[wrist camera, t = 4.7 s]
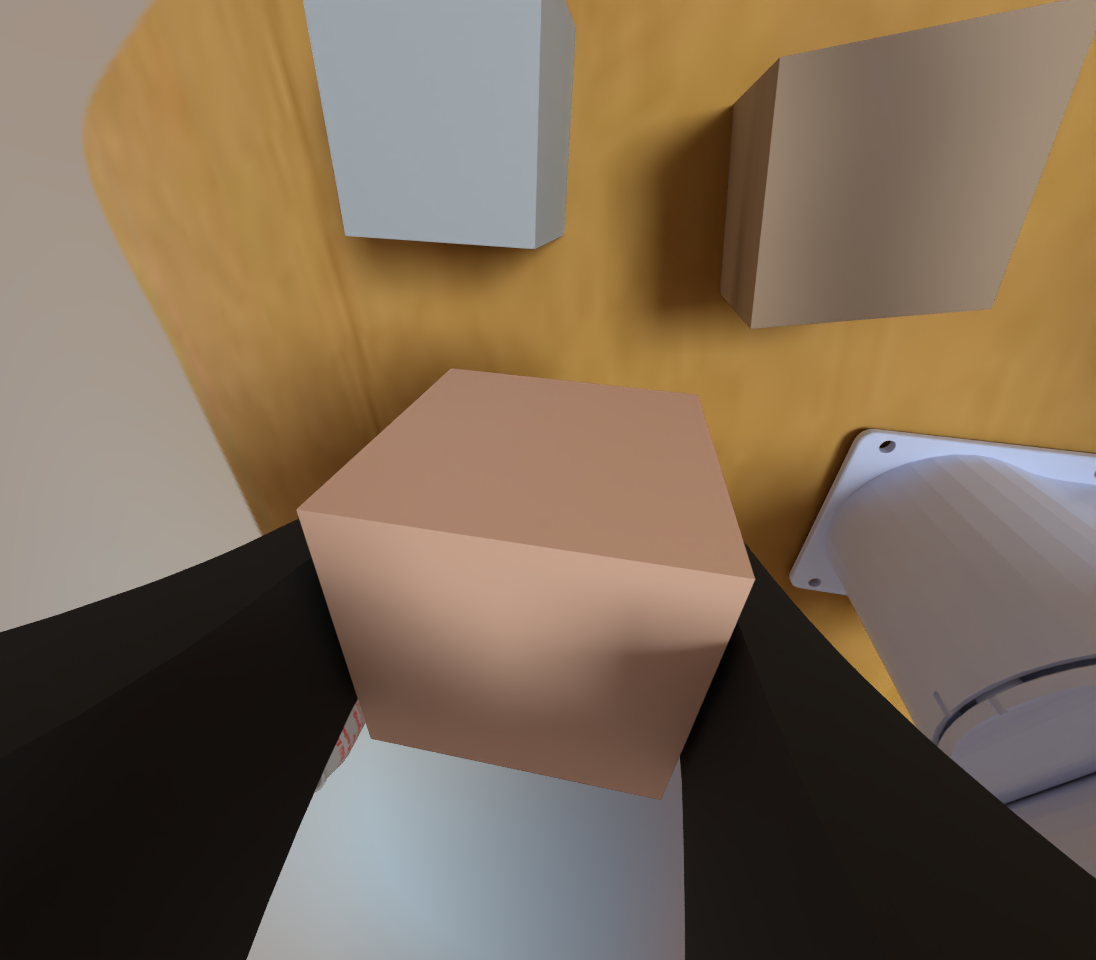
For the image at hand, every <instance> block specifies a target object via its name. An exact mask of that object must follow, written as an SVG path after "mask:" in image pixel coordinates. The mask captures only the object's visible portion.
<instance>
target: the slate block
mask: <svg viewBox="0 0 1096 960" xmlns="http://www.w3.org/2000/svg"><path fill="white" fill-rule="evenodd" d="M303 3H304V9H305V14H306V20H307V25H308V31H309V36H310V42H311V48H312V53H313V59H314V64H315V70H316V75H317V81H318V86H319V92H320V97H321V103H322V108H323V114H324V120H325V125H326V131H327V136H328V142H329V147H330V153H331V158H332V164H333V169H334V175H335V180H336V186H337V191H338V197H339V203H340V208H341V214H342V219H343V225H344V230H345V236H355V237H369V238H384V239H398V240H412V241H427V242H441V243H455V244H469V245H484V246H498V247H512V248H527V249H536V248H538V247H540V246H542V245H544V244H546V243H548V242H551V241H553V240H555V239H557V238H559V237H561V236H563V235H564V227H565V209H566V192H567V174H568V157H569V139H570V122H571V104H572V86H573V69H574V51H575V34H576V27H575V25H574V22H573V19H572V17H571V14H570V12H569V9H568V6H567V4H566V1H565V0H303Z"/></svg>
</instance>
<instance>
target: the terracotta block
mask: <svg viewBox="0 0 1096 960" xmlns="http://www.w3.org/2000/svg"><path fill="white" fill-rule="evenodd" d="M296 510H297V513H298V516H299V520H300V523H301V526H302V529H303V532H304V535H305V538H306V541H307V544H308V547H309V550H310V553H311V556H312V559H313V562H314V566H315V569H316V572H317V575H318V578H319V581H320V584H321V587H322V590H323V593H324V596H325V599H326V602H327V605H328V608H329V612H330V615H331V618H332V621H333V624H334V627H335V630H336V633H337V636H338V639H339V642H340V645H341V648H342V651H343V654H344V657H345V661H346V664H347V667H348V670H349V673H350V676H351V679H352V682H353V685H354V688H355V691H356V694H357V697H358V700H359V703H360V707H361V710H362V713H363V716H364V719H365V722H366V725H367V728H368V731H369V734H370V737H371V739H375V740H380V741H385V742H389V743H394V744H399V745H404V746H408V747H413V748H418V749H423V750H427V751H432V752H437V753H441V754H446V755H451V756H455V757H460V758H465V759H470V760H474V761H479V762H484V763H488V764H493V765H498V766H502V767H507V768H512V769H517V770H521V771H526V772H531V773H536V774H540V775H545V776H550V777H555V778H559V779H564V780H568V781H573V782H578V783H582V784H587V785H592V786H597V787H601V788H606V789H611V790H615V791H620V792H625V793H630V794H634V795H639V796H644V797H648V798H653V799H658V800H661V799H662V796H663V794H664V792H665V789H666V787H667V785H668V782H669V780H670V778H671V775H672V773H673V771H674V768H675V766H676V764H677V761H678V759H679V757H680V754H681V752H682V750H683V747H684V745H685V743H686V740H687V738H688V735H689V733H690V731H691V728H692V726H693V724H694V721H695V719H696V717H697V714H698V712H699V710H700V707H701V705H702V703H703V700H704V698H705V696H706V693H707V691H708V689H709V686H710V684H711V682H712V679H713V677H714V675H715V672H716V670H717V668H718V665H719V663H720V660H721V658H722V656H723V653H724V651H725V649H726V646H727V644H728V642H729V639H730V637H731V635H732V632H733V630H734V628H735V625H736V623H737V621H738V618H739V616H740V614H741V611H742V609H743V607H744V604H745V602H746V600H747V597H748V595H749V592H750V590H751V588H752V585H753V583H754V581H755V577H754V574H753V571H752V568H751V564H750V561H749V558H748V555H747V551H746V548H745V545H744V542H743V539H742V535H741V532H740V529H739V526H738V523H737V519H736V516H735V513H734V510H733V506H732V503H731V500H730V497H729V494H728V490H727V487H726V484H725V481H724V478H723V474H722V471H721V468H720V465H719V461H718V458H717V455H716V452H715V449H714V445H713V442H712V439H711V436H710V433H709V429H708V426H707V423H706V420H705V416H704V413H703V410H702V407H701V404H700V400H699V397H698V395H694V394H685V393H676V392H667V391H657V390H648V389H639V388H629V387H620V386H611V385H602V384H592V383H583V382H574V381H564V380H555V379H546V378H536V377H527V376H518V375H509V374H499V373H490V372H481V371H471V370H462V369H453V368H451V369H450V370H449V371H448V372H446V373H445V374H444V375H443V376H442V377H441V378H440V379H439V380H438V381H437V382H436V383H434V384H433V385H432V386H431V387H430V388H429V389H428V390H427V391H426V392H425V393H423V394H422V395H421V396H420V397H419V398H418V399H417V400H416V401H415V402H414V403H412V404H411V405H410V406H409V407H408V408H407V409H406V410H405V411H404V412H403V413H401V414H400V415H399V416H398V417H397V418H396V419H395V420H394V421H393V422H392V423H391V424H389V425H388V426H387V427H386V428H385V429H384V430H383V431H382V432H381V433H380V434H378V435H377V436H376V437H375V438H374V439H373V440H372V441H371V442H370V443H369V444H367V445H366V446H365V447H364V448H363V449H362V450H361V451H360V452H359V453H358V454H357V455H355V456H354V457H353V458H352V459H351V460H350V461H349V462H348V463H347V464H346V465H344V466H343V467H342V468H341V469H340V470H339V471H338V472H337V473H336V474H335V475H333V476H332V477H331V478H330V479H329V480H328V481H327V482H326V483H325V484H324V485H323V486H321V487H320V488H319V489H318V490H317V491H316V492H315V493H314V494H313V495H312V496H310V497H309V498H308V499H307V500H306V501H305V502H304V503H303V504H302V505H301V506H299V507H298V508H297V509H296Z"/></svg>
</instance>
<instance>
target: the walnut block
mask: <svg viewBox="0 0 1096 960" xmlns="http://www.w3.org/2000/svg"><path fill="white" fill-rule="evenodd" d="M1095 30H1096V0H1063V1H1058V2H1053V3H1048V4H1043V5H1038V6H1033V7H1029V8H1024V9H1019V10H1014V11H1009V12H1004V13H999V14H994V15H989V16H984V17H979V18H974V19H969V20H964V21H959V22H954V23H949V24H944V25H939V26H934V27H929V28H924V29H919V30H914V31H909V32H904V33H899V34H894V35H889V36H884V37H879V38H874V39H869V40H864V41H859V42H854V43H849V44H844V45H839V46H834V47H829V48H824V49H819V50H814V51H809V52H804V53H799V54H794V55H790V56H785V57H780V58H779V59H778V60H777V61H776V62H775V63H774V64H773V65H772V66H771V67H770V68H769V69H768V70H767V71H766V72H765V73H764V74H763V75H762V76H761V77H760V78H759V79H758V80H757V81H756V82H755V83H754V84H753V85H752V86H751V87H750V88H749V89H748V90H747V91H746V92H745V93H744V94H743V95H742V96H741V97H740V98H739V99H738V100H737V101H736V102H735V103H734V105H733V119H732V133H731V147H730V161H729V175H728V189H727V203H726V217H725V231H724V245H723V259H722V273H721V287H720V294H721V295H722V296H723V297H724V299H725V300H726V301H727V302H728V303H729V304H730V305H731V307H732V308H733V309H734V310H735V311H736V312H737V314H738V315H739V316H740V317H741V318H742V319H743V321H744V322H745V323H746V324H747V325H748V326H749V328H750V329H753V328H765V327H778V326H790V325H802V324H814V323H826V322H838V321H851V320H863V319H875V318H887V317H899V316H911V315H924V314H936V313H948V312H960V311H972V310H984V309H991V308H992V306H993V303H994V300H995V297H996V295H997V292H998V289H999V287H1000V284H1001V281H1002V279H1003V276H1004V273H1005V271H1006V268H1007V265H1008V263H1009V260H1010V257H1011V255H1012V252H1013V249H1014V247H1015V244H1016V241H1017V239H1018V236H1019V233H1020V231H1021V228H1022V225H1023V223H1024V220H1025V217H1026V215H1027V212H1028V209H1029V207H1030V204H1031V201H1032V199H1033V196H1034V193H1035V191H1036V188H1037V185H1038V183H1039V180H1040V177H1041V175H1042V172H1043V169H1044V167H1045V164H1046V161H1047V159H1048V156H1049V153H1050V151H1051V148H1052V145H1053V143H1054V140H1055V137H1056V134H1057V132H1058V129H1059V126H1060V124H1061V121H1062V118H1063V116H1064V113H1065V110H1066V108H1067V105H1068V102H1069V100H1070V97H1071V94H1072V92H1073V89H1074V86H1075V84H1076V81H1077V78H1078V76H1079V73H1080V70H1081V68H1082V65H1083V62H1084V60H1085V57H1086V54H1087V52H1088V49H1089V46H1090V44H1091V41H1092V38H1093V36H1094V33H1095Z"/></svg>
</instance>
